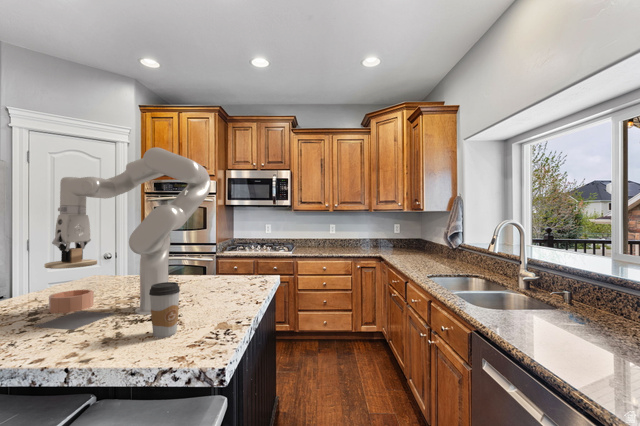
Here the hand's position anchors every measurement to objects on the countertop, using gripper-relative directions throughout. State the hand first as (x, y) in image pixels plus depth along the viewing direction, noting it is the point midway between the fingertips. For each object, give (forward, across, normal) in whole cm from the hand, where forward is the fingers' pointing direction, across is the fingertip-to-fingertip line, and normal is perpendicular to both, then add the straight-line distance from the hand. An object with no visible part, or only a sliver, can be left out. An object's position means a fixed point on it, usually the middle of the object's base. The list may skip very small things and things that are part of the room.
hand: (72, 260), depth 112 cm
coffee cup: (+19, -13, -47) cm, 52 cm away
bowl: (+20, +5, +6) cm, 21 cm away
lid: (+2, 0, 0) cm, 2 cm away
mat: (+20, -6, -9) cm, 22 cm away
